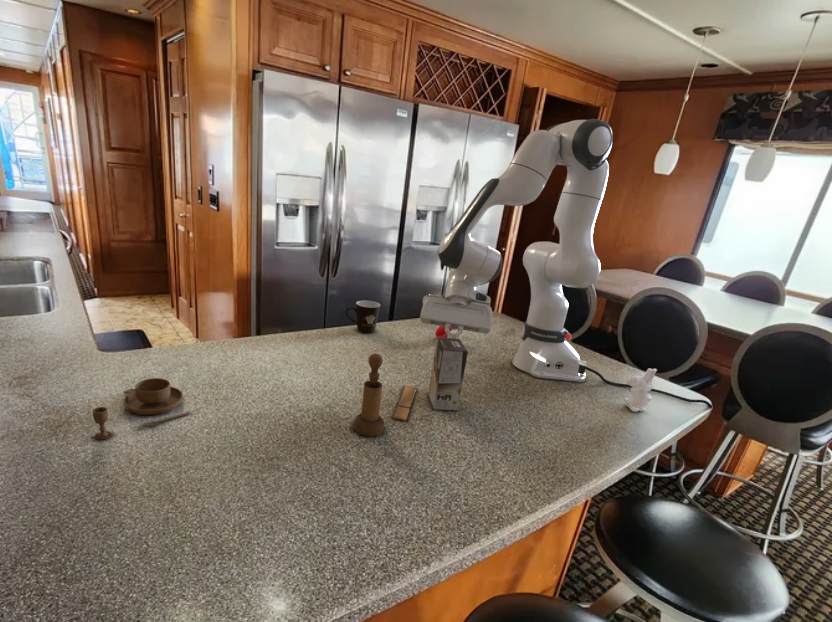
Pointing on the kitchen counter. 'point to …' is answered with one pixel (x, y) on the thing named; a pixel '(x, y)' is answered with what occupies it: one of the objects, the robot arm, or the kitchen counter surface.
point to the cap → (442, 332)
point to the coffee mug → (366, 316)
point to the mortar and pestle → (371, 402)
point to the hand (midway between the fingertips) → (451, 340)
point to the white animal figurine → (640, 390)
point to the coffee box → (447, 373)
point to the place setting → (144, 402)
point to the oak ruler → (405, 403)
